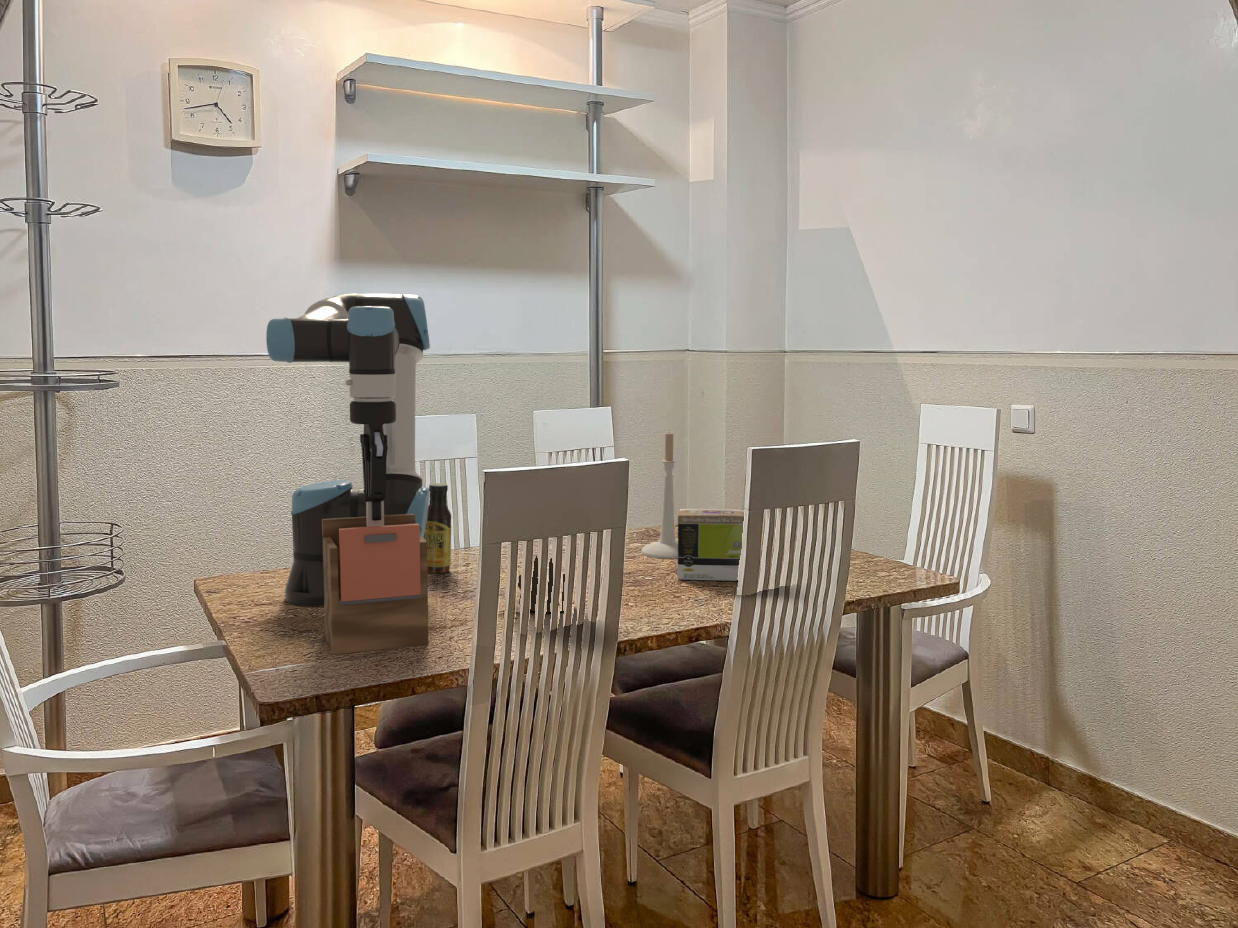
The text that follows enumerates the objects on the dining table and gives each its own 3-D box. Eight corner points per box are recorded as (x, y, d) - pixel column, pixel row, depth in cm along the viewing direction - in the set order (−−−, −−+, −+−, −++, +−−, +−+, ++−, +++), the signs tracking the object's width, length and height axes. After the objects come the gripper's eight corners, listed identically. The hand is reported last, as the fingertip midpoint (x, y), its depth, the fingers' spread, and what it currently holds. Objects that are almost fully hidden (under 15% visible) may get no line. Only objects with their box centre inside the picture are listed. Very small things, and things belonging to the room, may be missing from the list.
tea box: (744, 572, 230) (746, 507, 228) (745, 582, 220) (747, 515, 218) (678, 569, 232) (679, 506, 230) (676, 580, 222) (677, 514, 220)
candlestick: (704, 553, 249) (706, 431, 245) (668, 561, 240) (670, 435, 236) (666, 545, 258) (668, 427, 254) (630, 552, 249) (631, 431, 245)
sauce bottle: (417, 573, 226) (416, 485, 223) (431, 567, 231) (430, 481, 229) (443, 576, 223) (442, 487, 221) (457, 569, 229) (456, 483, 227)
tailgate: (339, 604, 168) (337, 528, 166) (421, 597, 173) (419, 523, 171) (340, 607, 166) (338, 530, 165) (423, 599, 172) (421, 525, 170)
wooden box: (325, 636, 179) (321, 519, 176) (415, 626, 185) (413, 513, 182) (332, 654, 169) (329, 530, 166) (428, 644, 175) (426, 524, 172)
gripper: (344, 397, 174) (347, 532, 177) (355, 402, 162) (358, 547, 165) (388, 397, 177) (391, 529, 180) (402, 401, 165) (405, 543, 168)
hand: (375, 538), depth 172 cm, fingers closed
